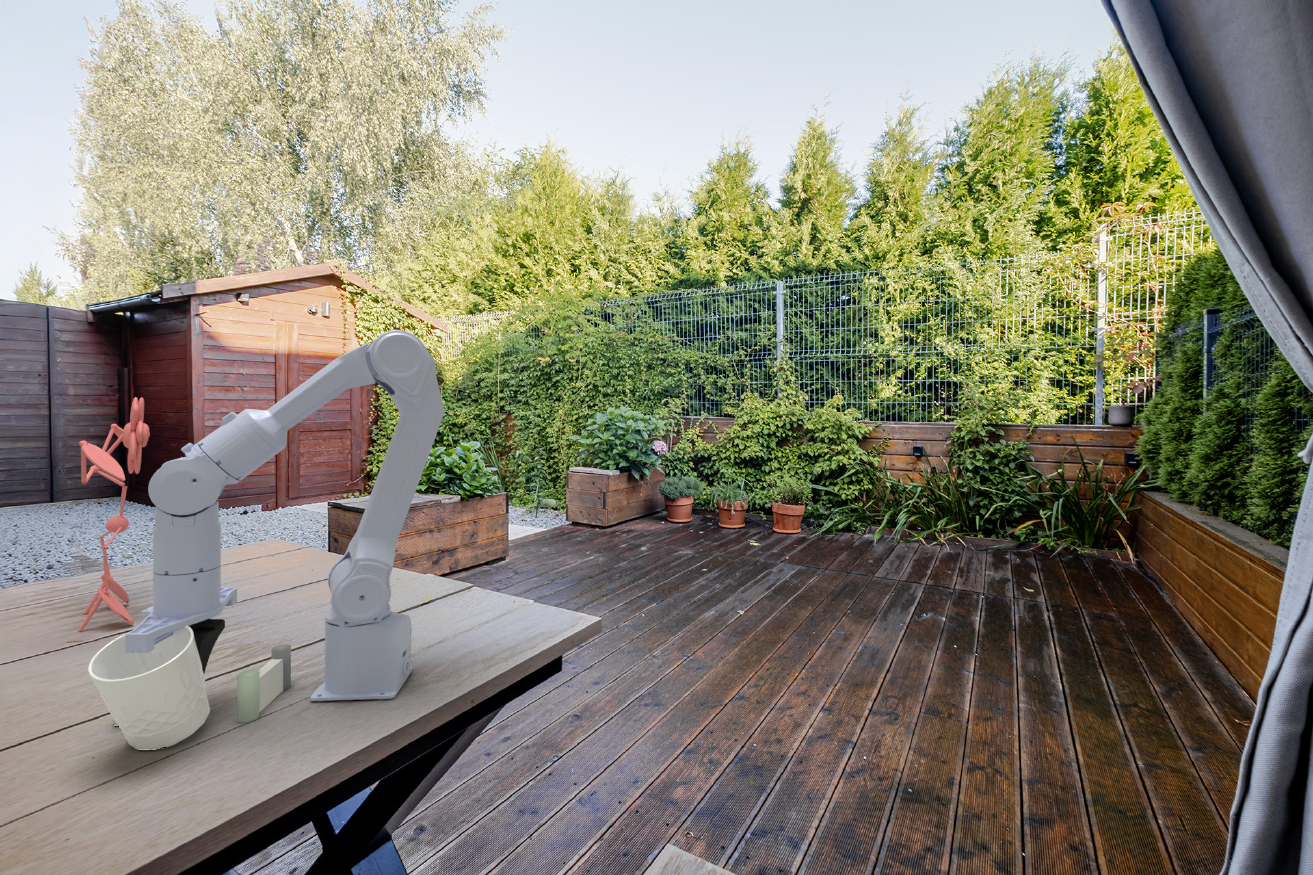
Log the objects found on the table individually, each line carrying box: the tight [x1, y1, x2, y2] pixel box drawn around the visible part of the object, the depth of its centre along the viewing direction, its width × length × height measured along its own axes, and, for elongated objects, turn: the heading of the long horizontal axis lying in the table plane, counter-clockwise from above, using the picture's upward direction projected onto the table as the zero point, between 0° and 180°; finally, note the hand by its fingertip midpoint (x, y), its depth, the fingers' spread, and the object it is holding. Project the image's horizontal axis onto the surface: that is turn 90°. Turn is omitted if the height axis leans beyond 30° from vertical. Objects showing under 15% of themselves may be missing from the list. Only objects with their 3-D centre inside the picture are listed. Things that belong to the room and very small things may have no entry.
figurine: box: [66, 396, 151, 644], centre depth 93 cm, size 15×26×35 cm, turn 41°
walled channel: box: [113, 643, 292, 726], centre depth 67 cm, size 14×9×5 cm, turn 97°
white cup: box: [87, 625, 211, 750], centre depth 59 cm, size 8×8×10 cm
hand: (187, 691), depth 63 cm, fingers closed, pressing on white cup
